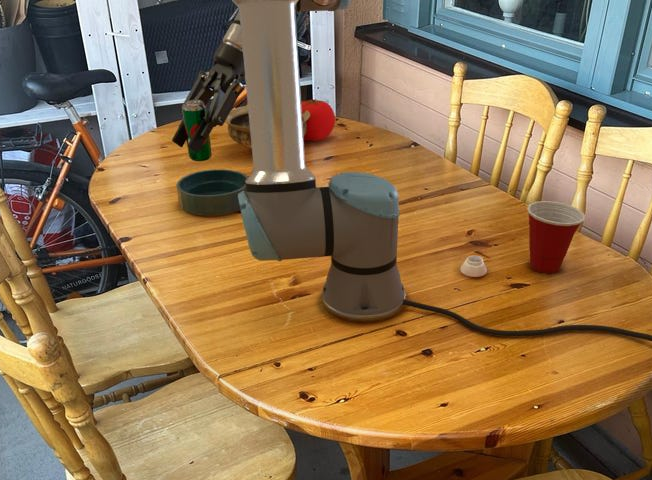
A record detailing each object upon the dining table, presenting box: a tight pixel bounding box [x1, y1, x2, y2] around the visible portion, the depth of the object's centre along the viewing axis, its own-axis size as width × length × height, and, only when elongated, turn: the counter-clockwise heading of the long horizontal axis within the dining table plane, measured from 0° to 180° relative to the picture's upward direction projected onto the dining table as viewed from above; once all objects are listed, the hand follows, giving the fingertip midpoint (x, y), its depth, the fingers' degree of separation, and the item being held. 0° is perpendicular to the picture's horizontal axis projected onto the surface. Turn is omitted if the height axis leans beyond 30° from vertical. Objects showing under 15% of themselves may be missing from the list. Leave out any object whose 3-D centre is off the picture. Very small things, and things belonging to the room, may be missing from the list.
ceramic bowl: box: [224, 105, 310, 149], centre depth 194 cm, size 30×24×10 cm
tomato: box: [301, 98, 336, 142], centre depth 201 cm, size 12×13×11 cm
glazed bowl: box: [175, 168, 249, 216], centre depth 165 cm, size 17×17×5 cm
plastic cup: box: [526, 200, 586, 274], centre depth 135 cm, size 11×11×12 cm
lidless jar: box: [459, 255, 488, 278], centre depth 136 cm, size 5×3×5 cm
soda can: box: [181, 100, 213, 162], centre depth 151 cm, size 5×5×12 cm
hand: (184, 146), depth 151 cm, fingers closed on soda can, 5 cm apart
